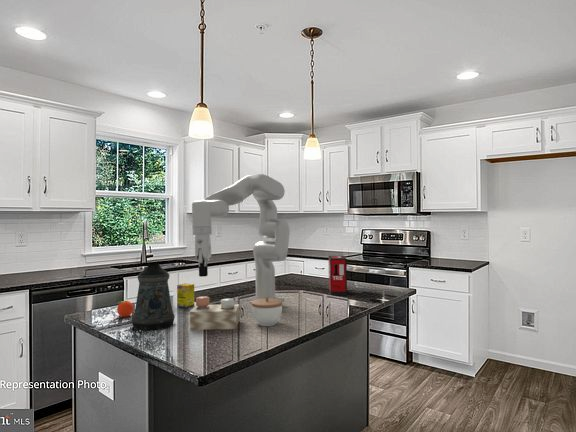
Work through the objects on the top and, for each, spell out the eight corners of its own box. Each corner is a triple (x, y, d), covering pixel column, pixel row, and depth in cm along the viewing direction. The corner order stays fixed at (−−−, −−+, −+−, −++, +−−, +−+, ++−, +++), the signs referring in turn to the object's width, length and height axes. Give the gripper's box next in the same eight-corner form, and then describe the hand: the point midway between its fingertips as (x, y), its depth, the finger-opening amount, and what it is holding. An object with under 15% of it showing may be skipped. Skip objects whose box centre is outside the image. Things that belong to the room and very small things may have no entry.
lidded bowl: (266, 318, 172) (266, 292, 172) (288, 322, 164) (288, 296, 164) (245, 324, 162) (245, 297, 162) (268, 330, 154) (268, 301, 154)
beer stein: (138, 334, 151) (137, 268, 151) (125, 323, 166) (124, 263, 166) (180, 326, 160) (180, 264, 160) (164, 316, 176) (163, 260, 176)
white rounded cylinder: (234, 320, 165) (234, 298, 164) (233, 323, 159) (233, 301, 159) (222, 320, 164) (222, 298, 164) (220, 323, 159) (220, 301, 159)
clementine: (113, 319, 173) (113, 302, 173) (115, 315, 179) (115, 299, 179) (133, 317, 175) (132, 301, 175) (134, 314, 181) (134, 298, 181)
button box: (239, 320, 168) (238, 304, 168) (235, 329, 156) (235, 311, 156) (196, 321, 168) (196, 304, 168) (189, 329, 156) (189, 311, 156)
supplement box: (177, 307, 194) (176, 284, 194) (185, 304, 199) (185, 282, 199) (186, 308, 191) (186, 285, 191) (194, 305, 197) (194, 283, 197)
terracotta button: (210, 318, 164) (210, 296, 164) (208, 321, 159) (208, 299, 159) (197, 318, 164) (197, 296, 164) (195, 321, 159) (194, 299, 159)
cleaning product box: (346, 295, 219) (346, 258, 219) (330, 295, 220) (330, 258, 220) (343, 289, 236) (343, 255, 236) (328, 289, 236) (328, 255, 236)
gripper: (208, 232, 154) (209, 279, 155) (214, 229, 169) (215, 272, 170) (188, 232, 154) (189, 279, 154) (196, 230, 169) (197, 273, 169)
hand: (203, 276), depth 162 cm, fingers closed
